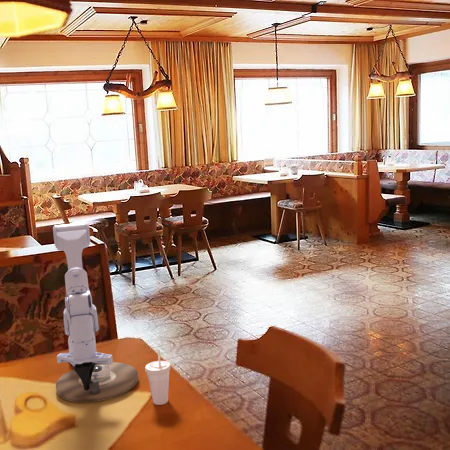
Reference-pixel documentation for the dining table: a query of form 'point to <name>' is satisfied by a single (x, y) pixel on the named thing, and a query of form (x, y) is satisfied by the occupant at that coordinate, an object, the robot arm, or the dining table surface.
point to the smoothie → (158, 380)
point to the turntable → (98, 384)
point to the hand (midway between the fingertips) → (87, 388)
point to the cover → (101, 373)
